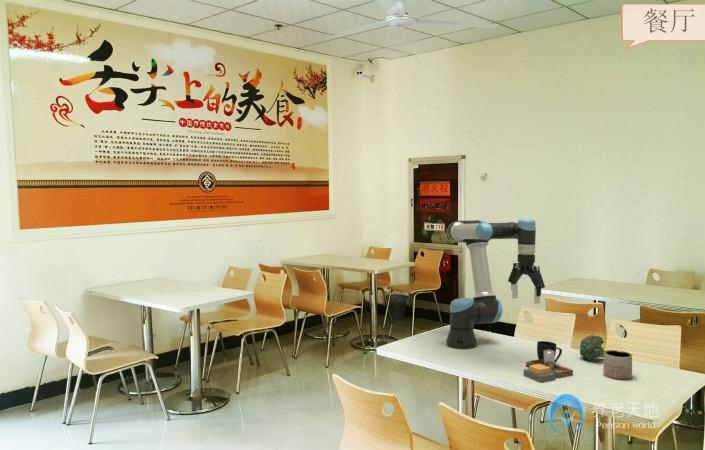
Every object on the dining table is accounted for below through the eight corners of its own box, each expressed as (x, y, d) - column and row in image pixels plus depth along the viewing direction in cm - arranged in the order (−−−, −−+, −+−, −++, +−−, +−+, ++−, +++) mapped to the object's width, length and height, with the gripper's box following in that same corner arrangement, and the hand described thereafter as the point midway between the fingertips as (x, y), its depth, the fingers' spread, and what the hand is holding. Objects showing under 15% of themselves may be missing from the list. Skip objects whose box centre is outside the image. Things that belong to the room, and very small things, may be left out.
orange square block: (528, 373, 231) (528, 365, 230) (539, 371, 233) (539, 363, 233) (539, 377, 225) (539, 369, 225) (550, 375, 228) (550, 367, 228)
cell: (541, 368, 239) (541, 349, 239) (548, 367, 241) (548, 347, 241) (549, 371, 235) (549, 351, 235) (556, 369, 237) (556, 350, 237)
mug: (553, 369, 241) (554, 348, 240) (532, 362, 251) (533, 341, 251) (565, 368, 244) (567, 346, 244) (544, 360, 255) (546, 340, 255)
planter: (597, 373, 234) (598, 351, 234) (616, 370, 239) (616, 348, 238) (618, 381, 224) (619, 358, 224) (637, 378, 229) (638, 355, 228)
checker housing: (523, 375, 232) (523, 369, 232) (537, 372, 235) (537, 367, 235) (541, 382, 223) (541, 376, 223) (555, 379, 227) (555, 373, 226)
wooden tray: (525, 366, 244) (526, 361, 244) (541, 363, 248) (541, 358, 248) (557, 378, 228) (557, 373, 228) (572, 375, 232) (573, 370, 232)
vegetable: (619, 361, 245) (588, 346, 245) (601, 374, 254) (572, 359, 254) (618, 340, 254) (589, 325, 254) (601, 353, 263) (573, 339, 263)
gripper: (500, 251, 255) (500, 296, 256) (541, 256, 233) (540, 306, 234) (513, 250, 258) (512, 295, 259) (554, 255, 236) (553, 304, 237)
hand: (525, 300), depth 246 cm, fingers open, 13 cm apart
